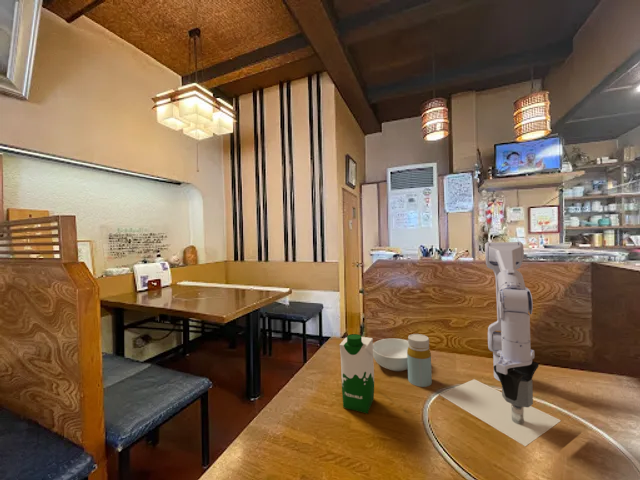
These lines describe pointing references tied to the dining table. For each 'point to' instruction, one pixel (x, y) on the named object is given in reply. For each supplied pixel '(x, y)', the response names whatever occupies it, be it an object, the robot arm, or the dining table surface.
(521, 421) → the cylinder
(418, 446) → the dining table surface
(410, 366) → the bottle
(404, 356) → the cereal bowl
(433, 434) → the dining table surface
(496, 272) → the robot arm
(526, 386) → the gray faceted cup
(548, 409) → the dining table surface
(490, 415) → the board
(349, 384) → the milk carton
